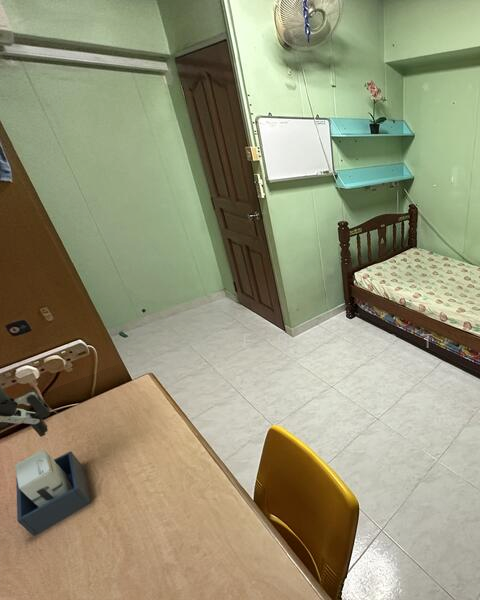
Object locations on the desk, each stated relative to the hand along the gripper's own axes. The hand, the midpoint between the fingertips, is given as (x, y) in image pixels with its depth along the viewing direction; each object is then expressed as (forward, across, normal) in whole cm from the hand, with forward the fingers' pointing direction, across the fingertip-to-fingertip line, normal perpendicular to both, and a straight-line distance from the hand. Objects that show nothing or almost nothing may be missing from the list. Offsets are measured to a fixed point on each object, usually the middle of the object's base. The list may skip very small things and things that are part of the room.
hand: (13, 446), depth 64 cm
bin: (+19, 0, 0) cm, 19 cm away
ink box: (+19, 0, 0) cm, 19 cm away
